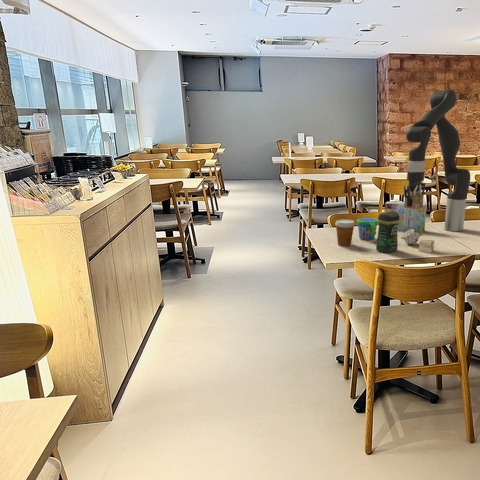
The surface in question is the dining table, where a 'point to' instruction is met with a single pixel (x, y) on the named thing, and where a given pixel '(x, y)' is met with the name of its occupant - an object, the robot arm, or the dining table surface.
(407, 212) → the snack box
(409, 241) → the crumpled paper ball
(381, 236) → the coffee jar
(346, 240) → the disposable coffee cup
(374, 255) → the dining table surface
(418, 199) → the walnut block
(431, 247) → the maple block
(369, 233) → the snack cup
